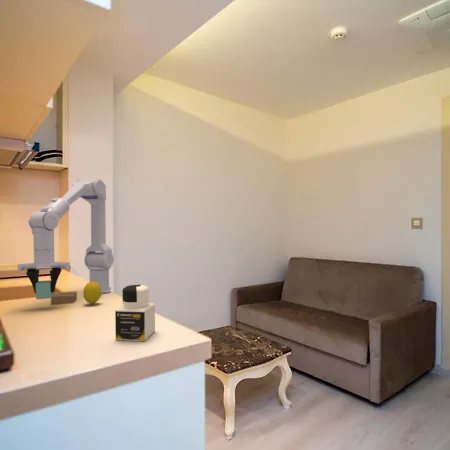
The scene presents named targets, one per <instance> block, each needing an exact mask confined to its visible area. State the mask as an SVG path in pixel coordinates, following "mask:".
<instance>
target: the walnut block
mask: <svg viewBox="0 0 450 450" xmlns="http://www.w3.org/2000/svg"><path fill="white" fill-rule="evenodd" d="M77 299H78V291H75V290H74V291H62V292H61V291H59V292H53V296H52V297H51V298H50V305H51V306H52V305H65V304H66V305H67V304H69V305H70V304H74V303H75V302H76V300H77Z"/></svg>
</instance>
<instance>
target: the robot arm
mask: <svg viewBox="0 0 450 450" xmlns="http://www.w3.org/2000/svg"><path fill="white" fill-rule="evenodd" d="M80 198H81V199H82V200H84V201H85V202H88V203H89V205H90V245H89V246H88V247H87V248H86V250H85V255H84V265H85V266H86V267H87V270H89V282H91V281H94V282H96V283H98V284H99V285H100V288H101V294H107V293H108V294H109V293H110V292H111V289H112V287H111V286H110V269H111V267H113V264H114V262H115V261H114V260H115V259H114V255H113V248H111V247H110V246H108V245H107V244H106V242H107V241H106V240H107V239H106V235H107V234H106V233H107V232H106V230H107V228H106V226H107V225H106V222H107V221H106V219H107V218H106V200H107V185H106V184H105V182H104V181H103V180H102V179H101V178H95V179H77V180H75V181H74V182H73V183H72V186H71V187H70V189H68V190H67V191H66V192H65V194H64V195H63V196H62V197H55V198H54V197H53V198H52V199H50V202H49V203H48V204H47V205H45V206H43V207H42V208H41V210H40V211H35V212H33V213H32V215H30V217H29V219H28V223H27V224H28V226H29V227H30V228H31V229H30V230H31V234H32V235H33V239H32V240H33V262H31V263H19V264H17V272H22V271H26V272H25V275H26V276H27V277H28V279H29V281H30V283H31V285H32V289H33V291H34V292H33V293H34V294H36V283H37V282H39V281H40V280H39V279H40V278H39V276H40V270H43V271H44V270H49V274H50V275H49V276H50V280H51V293H52V292H53V293H55V291H56V285H57V282H58V279H59V277H60V275H61V273H62V269H63V270H68V269H70V268H71V262H70V261H66V262H65V261H64V262H63V261H55V229H56V228H58V225H59V221H60V220H61V218H63V216H65V215H66V214H67V213H68V212H69V210H70V206H71V205H72V204H73V203H74V202H76V201H77V200H78V199H80Z"/></svg>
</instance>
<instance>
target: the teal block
mask: <svg viewBox="0 0 450 450" xmlns="http://www.w3.org/2000/svg"><path fill="white" fill-rule="evenodd" d="M53 294H54V292H52V293H51V279H49V280H39V282H37V283H36V293H35V299H36V300H43V299H44V300H47V299H48V300H49V299H51V297H52V296H53Z"/></svg>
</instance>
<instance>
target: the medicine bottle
mask: <svg viewBox="0 0 450 450" xmlns="http://www.w3.org/2000/svg"><path fill="white" fill-rule="evenodd" d="M149 290H150V289H149V287H148V286H147V285H144V284H130V285H127V286H125V287H123V288H122V290H121V291H122V305H121V306H120V307H118V308H116V309H115V311H114V312H115V321H114V322H115V340H116V341H127V342H131V341H132V342H146V340H147V339H148V338H150V336H152V335H153V334H154V333H155V331H156V315H155V314H156V307H155V306H156V304H155V303H154V302H153V303H151V302H149V301H150V299H149V296H150V295H149V292H150V291H149Z"/></svg>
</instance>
